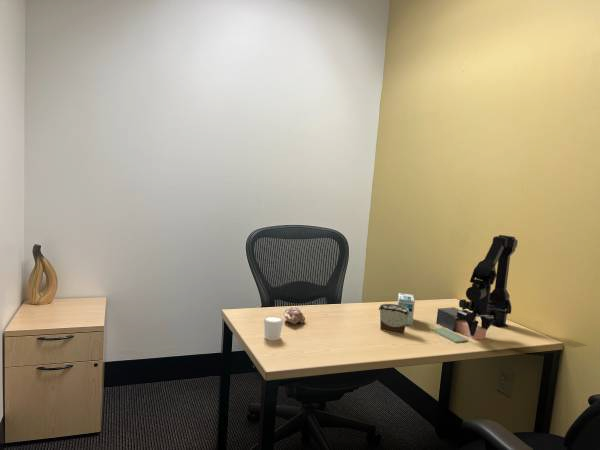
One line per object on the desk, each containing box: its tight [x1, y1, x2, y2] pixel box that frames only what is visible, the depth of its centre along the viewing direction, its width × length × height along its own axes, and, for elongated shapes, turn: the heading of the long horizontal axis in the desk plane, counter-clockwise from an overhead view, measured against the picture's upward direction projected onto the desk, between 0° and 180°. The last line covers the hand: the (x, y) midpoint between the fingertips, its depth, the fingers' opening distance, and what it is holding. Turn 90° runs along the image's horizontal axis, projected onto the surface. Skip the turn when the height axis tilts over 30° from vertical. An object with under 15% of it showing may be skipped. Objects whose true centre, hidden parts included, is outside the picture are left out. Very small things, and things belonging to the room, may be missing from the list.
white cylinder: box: [263, 315, 284, 341], centre depth 169 cm, size 7×7×7 cm
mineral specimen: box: [283, 307, 306, 325], centre depth 188 cm, size 12×8×7 cm
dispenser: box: [435, 307, 460, 332], centre depth 198 cm, size 9×10×6 cm
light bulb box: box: [397, 292, 416, 326], centre depth 200 cm, size 11×7×11 cm, turn 168°
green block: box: [431, 327, 469, 344], centre depth 186 cm, size 6×14×1 cm, turn 24°
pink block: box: [455, 319, 487, 341], centre depth 189 cm, size 5×13×4 cm, turn 21°
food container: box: [378, 303, 410, 336], centre depth 187 cm, size 12×6×10 cm, turn 65°
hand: (477, 335), depth 185 cm, fingers closed on pink block, 5 cm apart
